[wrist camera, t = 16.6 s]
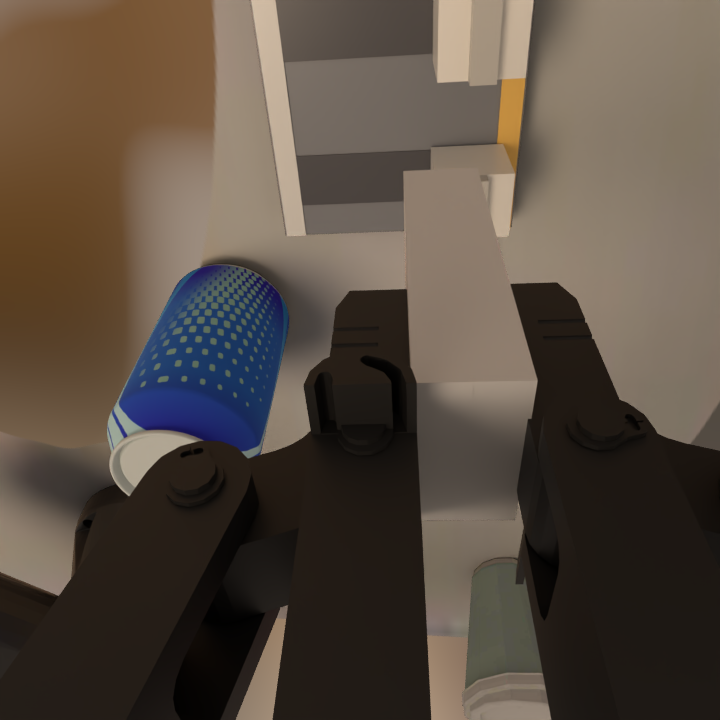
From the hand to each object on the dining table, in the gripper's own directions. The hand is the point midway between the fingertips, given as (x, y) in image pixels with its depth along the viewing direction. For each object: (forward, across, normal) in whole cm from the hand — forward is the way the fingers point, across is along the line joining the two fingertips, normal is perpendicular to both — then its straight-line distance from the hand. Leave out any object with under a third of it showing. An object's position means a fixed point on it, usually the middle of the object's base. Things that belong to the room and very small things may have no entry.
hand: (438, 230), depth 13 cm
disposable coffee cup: (+25, +9, -53) cm, 59 cm away
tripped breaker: (+22, +3, 0) cm, 22 cm away
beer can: (+25, -13, -18) cm, 33 cm away
